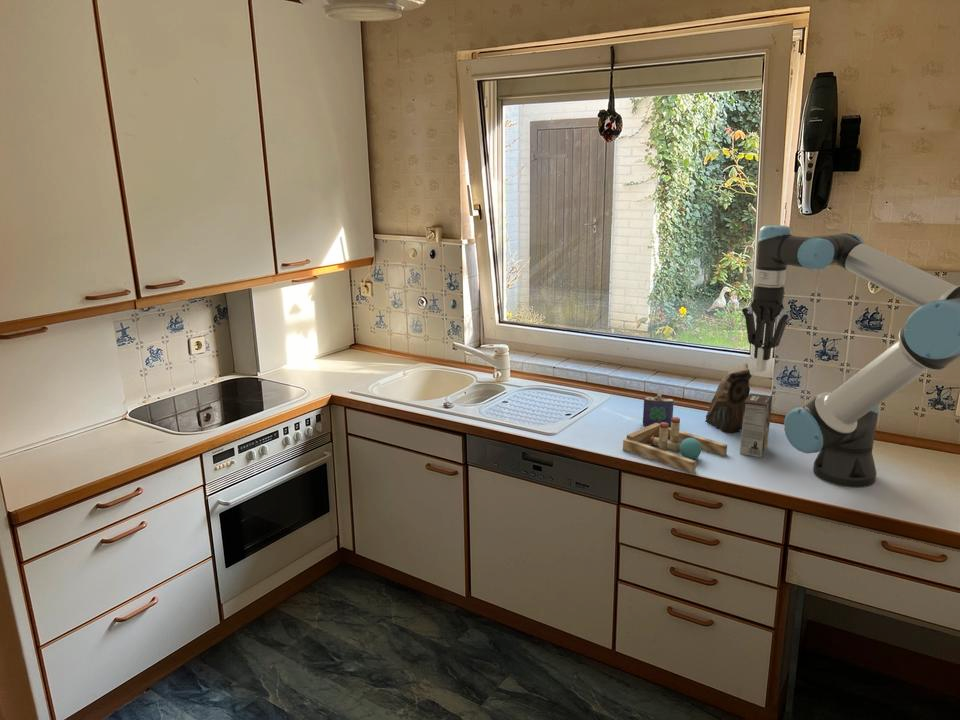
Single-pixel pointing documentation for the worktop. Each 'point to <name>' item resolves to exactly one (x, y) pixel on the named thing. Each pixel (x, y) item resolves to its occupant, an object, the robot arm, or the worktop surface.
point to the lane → (642, 436)
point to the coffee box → (755, 424)
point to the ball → (690, 448)
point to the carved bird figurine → (730, 400)
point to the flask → (657, 410)
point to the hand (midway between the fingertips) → (760, 370)
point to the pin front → (670, 445)
